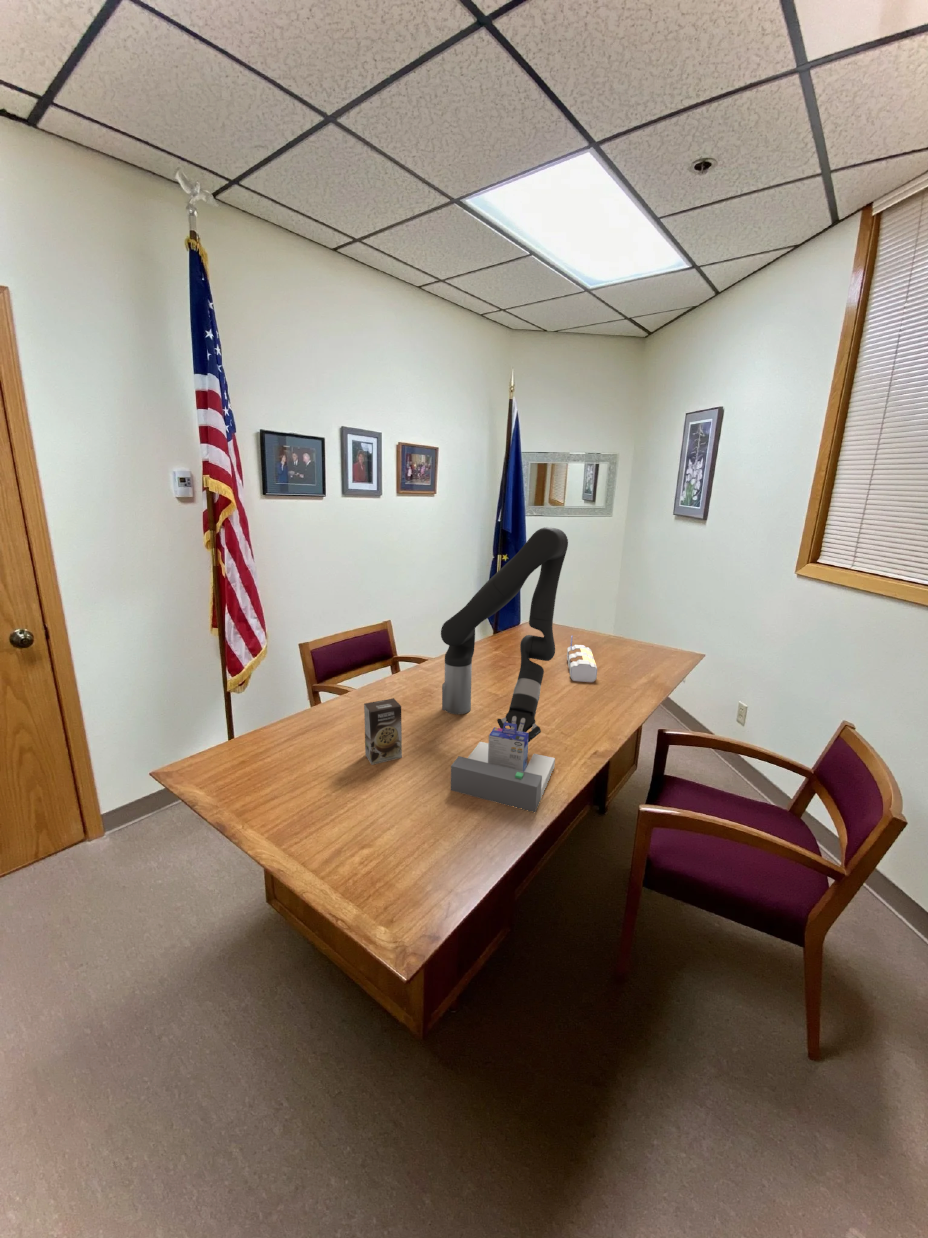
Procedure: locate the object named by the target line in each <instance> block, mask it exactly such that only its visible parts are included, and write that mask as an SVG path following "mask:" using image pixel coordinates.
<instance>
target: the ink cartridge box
mask: <svg viewBox="0 0 928 1238" xmlns="http://www.w3.org/2000/svg"><path fill="white" fill-rule="evenodd" d="M509 726H512V727H514V728H515V729H514V730H512V729H510V728H507V727H509ZM516 730H517V724H512V723H508V722H504V725H503V729H501V728H500V727H493V729H492V730H491V732H490V733H489V735H488V743H489V744H488V763H490V764H494V765H498V766H503V767H507V768H511V769H515V770H520V771H525V769H526V767H527V765H528V754H529V742H528V736H529V734H528V733H529V732H528V731H527V732H521V731H516Z"/></svg>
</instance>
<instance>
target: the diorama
mask: <svg viewBox="0 0 928 1238" xmlns="http://www.w3.org/2000/svg"><path fill="white" fill-rule="evenodd" d="M575 650H580V651H575ZM571 651H572V652H574V651H575V652H574V653H570V652H571ZM577 657H579V658H580V657H581V658H582V659H577ZM572 659H577V660H576V661H574V660H573V661H572V662H571V660H572ZM566 660H567V666H568V670H569V676H570V677H569V678H571V680H572V681H573V682H584V683H585V682H586V683H595V681H596V680H597V678H598V677H597V676H598V667H597V663H596V661H595V658H594V655H593V652H592V649H591V648H590V647H588V646H587V647H586V646H585V645H583V644H574V645H573V635H571V636H570V646H568V647H567V649H566Z"/></svg>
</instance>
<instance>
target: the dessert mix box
mask: <svg viewBox="0 0 928 1238" xmlns="http://www.w3.org/2000/svg"><path fill="white" fill-rule="evenodd" d="M363 706H364V707H363V709H364V711H363V713H364V750H365V751H364V752H365V753H364V754H365V756H366V758H367V759H368V761H369V764H370V765H372V766H373V765H377V764H382V763H385V762H389V761H394V760H397V759H398V760H399V759H402V758H403V753H402V751H403V748H402V745H403V744H402V743H403V742H402V730H403V729H402V705H401V704H400V703H399V702H398V701H397V700H396V699H395V698H394V697H393V698H388V699H383V700H378V701H377V700H376V701H372V702H366V703H364V704H363Z"/></svg>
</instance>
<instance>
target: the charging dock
mask: <svg viewBox="0 0 928 1238" xmlns="http://www.w3.org/2000/svg"><path fill="white" fill-rule="evenodd" d="M488 744H489V742H484V741H479V742H478V743H477V745H476V746H475V748H474V749H473V750H472V751H471V753H470V754H469V755H468V757H464V756H457V758H456V759H455V760H454V762H453V763H452V764H451V765H450V791H452V792H455V793H460V794H463V795H466V796H471V797H474V798H478V799H482V800H486V801H489V802H493V803H496V802H497V804H500V803H501V805H504V804H505V806H508V805H509V807H511V806H514V807H513V808H515V807H517V808H516V809H519V808H522V809H521V810H523V809H524V810H523V811H526V810H528V811H527V812H530V811H533V812H532V813H534V812H535V813H536V812H537V810H538V808H537V807H539V804H540V803H539V802H541V801H542V798H543V796H542V795H544V793H545V791H546V789H545V788H547V786H548V784H549V782H548V781H550V779H551V777H552V775H551V773H552V774H553V772H554V770H553V769H555V765H556V764H555V763H556V758H555V757H552V756H547V755H543V754H537V753H533V754H532V756H531V758H530V760H529V762H527V767H526V769H525V771H520V770H515V769H511V768H507V767H503V766H498V765H494V764H490V763H488ZM552 771H553V772H552ZM550 776H551V777H550ZM547 783H548V784H547ZM544 790H545V791H544ZM541 797H542V798H541ZM540 800H541V801H540Z"/></svg>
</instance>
